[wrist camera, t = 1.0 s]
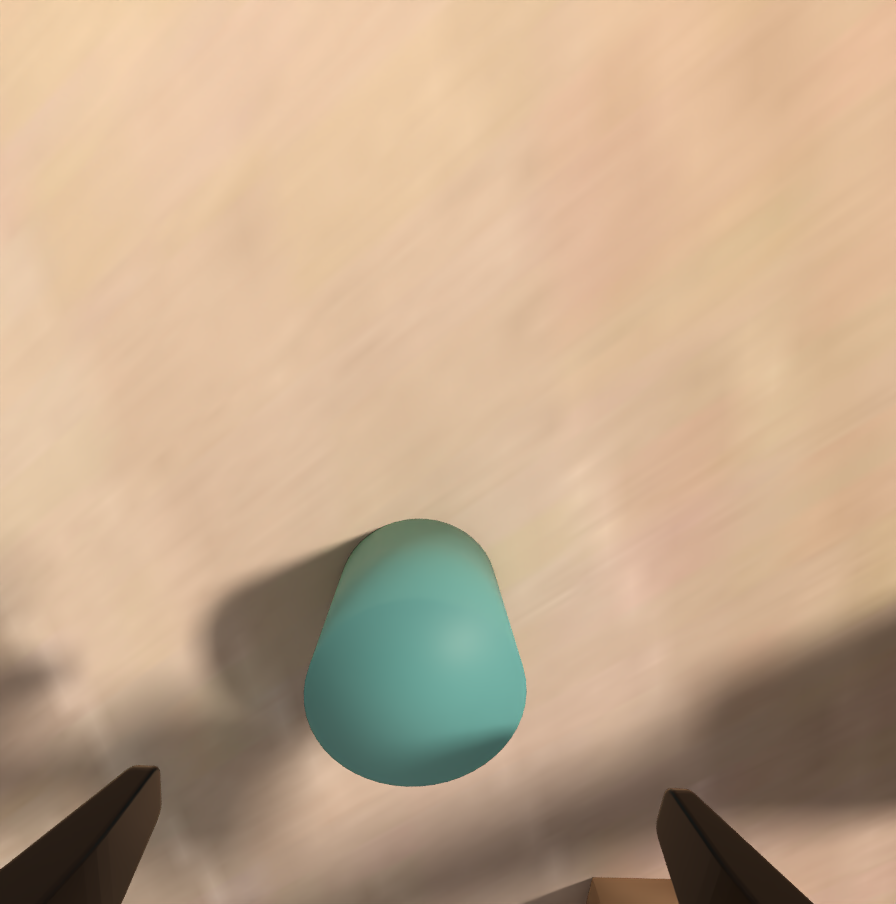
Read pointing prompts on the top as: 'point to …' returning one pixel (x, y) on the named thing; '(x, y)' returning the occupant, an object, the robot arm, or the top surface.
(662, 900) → the walnut base block
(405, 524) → the teal bullet block
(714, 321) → the top surface
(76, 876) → the robot arm
